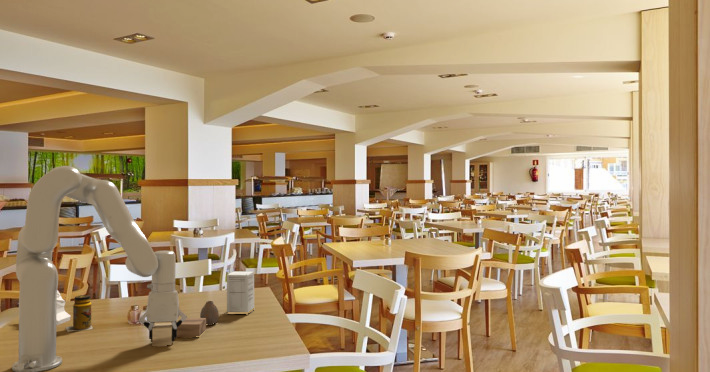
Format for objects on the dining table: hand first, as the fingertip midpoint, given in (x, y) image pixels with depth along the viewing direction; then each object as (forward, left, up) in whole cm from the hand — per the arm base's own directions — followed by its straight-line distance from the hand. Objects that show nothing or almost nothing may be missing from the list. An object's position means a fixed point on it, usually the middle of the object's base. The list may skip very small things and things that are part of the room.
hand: (163, 340), depth 177 cm
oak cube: (0, 0, -1) cm, 1 cm away
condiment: (+26, +33, -1) cm, 42 cm away
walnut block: (+10, -8, -1) cm, 13 cm away
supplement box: (+40, -26, -1) cm, 48 cm away
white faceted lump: (+38, +47, -1) cm, 60 cm away
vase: (+23, -14, -1) cm, 27 cm away
